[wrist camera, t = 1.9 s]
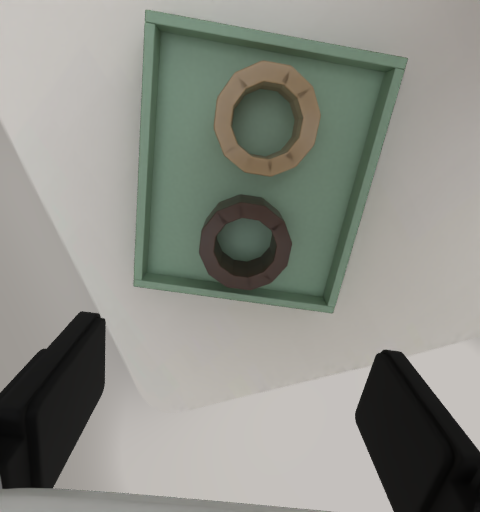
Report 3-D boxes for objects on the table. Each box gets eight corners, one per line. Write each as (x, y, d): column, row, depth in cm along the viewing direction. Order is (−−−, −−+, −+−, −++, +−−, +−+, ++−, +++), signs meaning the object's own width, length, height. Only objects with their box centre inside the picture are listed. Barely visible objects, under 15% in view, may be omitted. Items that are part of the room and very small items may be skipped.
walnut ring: (209, 189, 23) (205, 196, 20) (292, 202, 23) (299, 211, 20) (199, 266, 25) (194, 283, 22) (276, 277, 25) (280, 295, 22)
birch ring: (224, 64, 20) (222, 52, 17) (318, 80, 20) (331, 72, 18) (212, 163, 22) (208, 167, 19) (297, 176, 22) (306, 182, 20)
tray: (154, 21, 20) (145, 8, 18) (392, 65, 21) (408, 57, 19) (141, 275, 26) (133, 286, 24) (326, 300, 27) (333, 313, 25)
